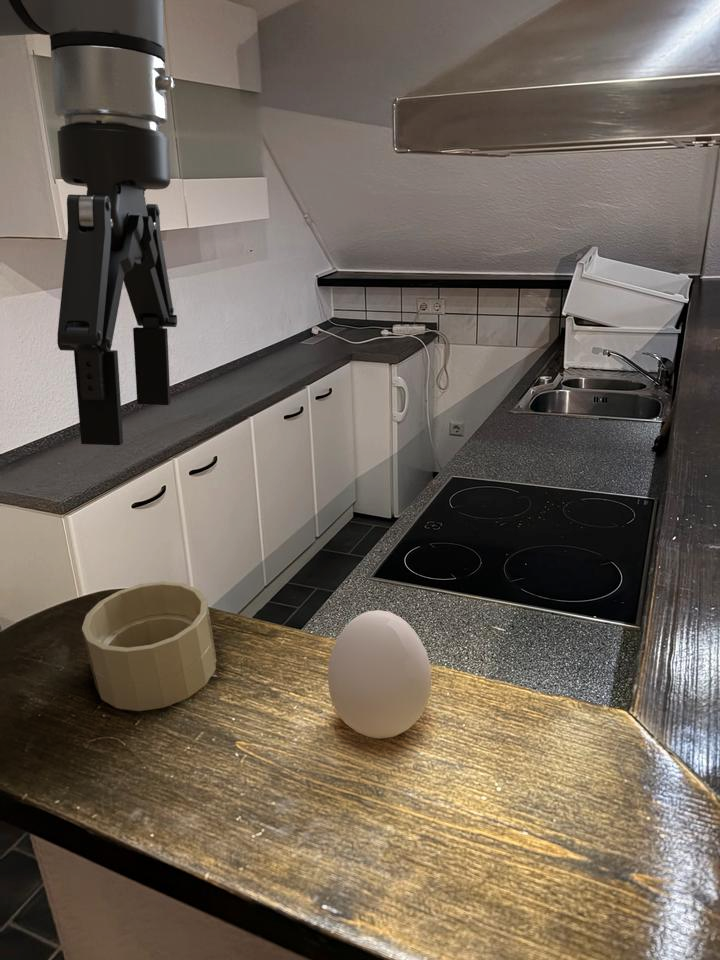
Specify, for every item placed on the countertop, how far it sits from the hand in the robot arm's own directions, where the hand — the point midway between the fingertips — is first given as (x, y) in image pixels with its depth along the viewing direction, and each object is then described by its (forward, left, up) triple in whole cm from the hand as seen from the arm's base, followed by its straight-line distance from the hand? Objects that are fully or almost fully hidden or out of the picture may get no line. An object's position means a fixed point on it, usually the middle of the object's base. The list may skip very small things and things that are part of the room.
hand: (130, 422), depth 60 cm
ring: (-2, +3, -27) cm, 27 cm away
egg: (+18, -8, -27) cm, 33 cm away
